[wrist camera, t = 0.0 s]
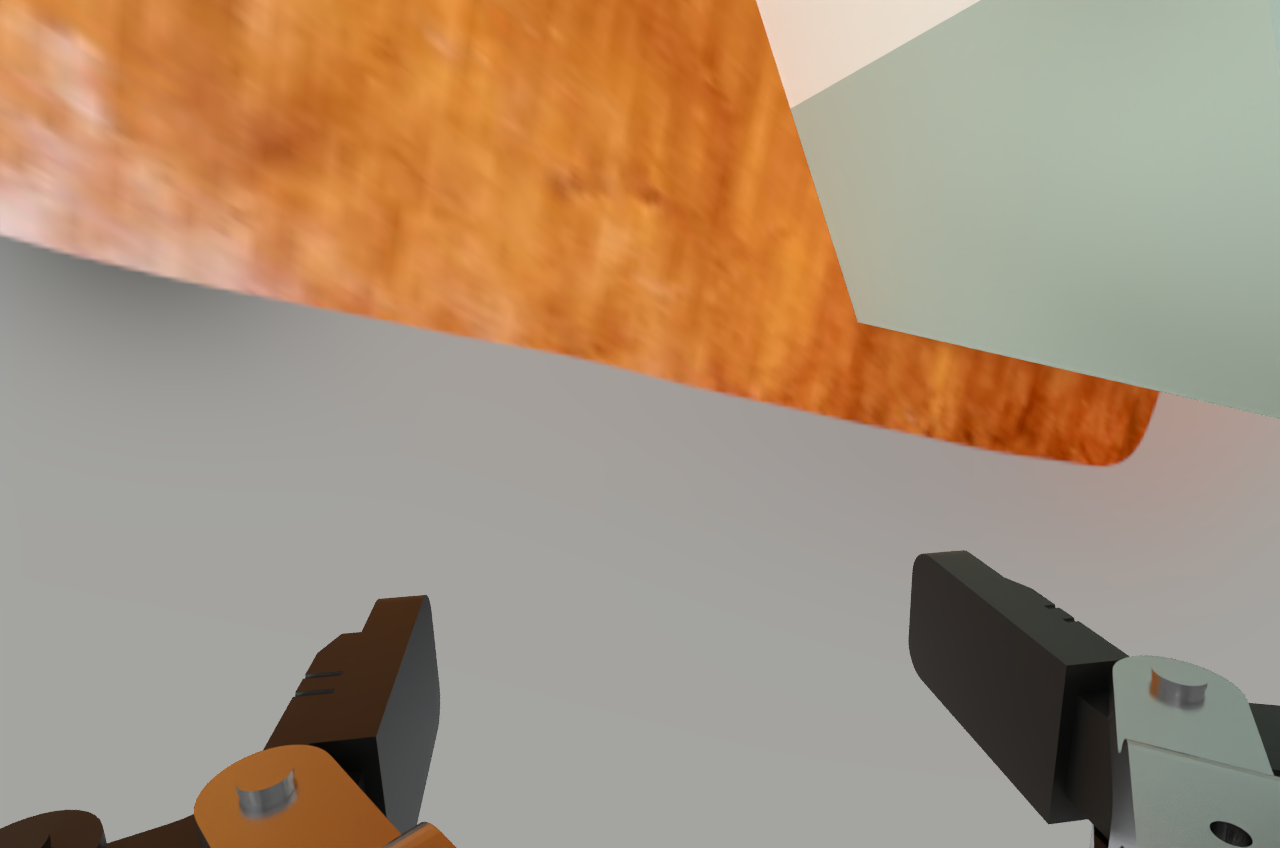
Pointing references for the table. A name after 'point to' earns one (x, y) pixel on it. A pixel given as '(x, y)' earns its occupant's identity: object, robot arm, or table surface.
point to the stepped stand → (1053, 178)
